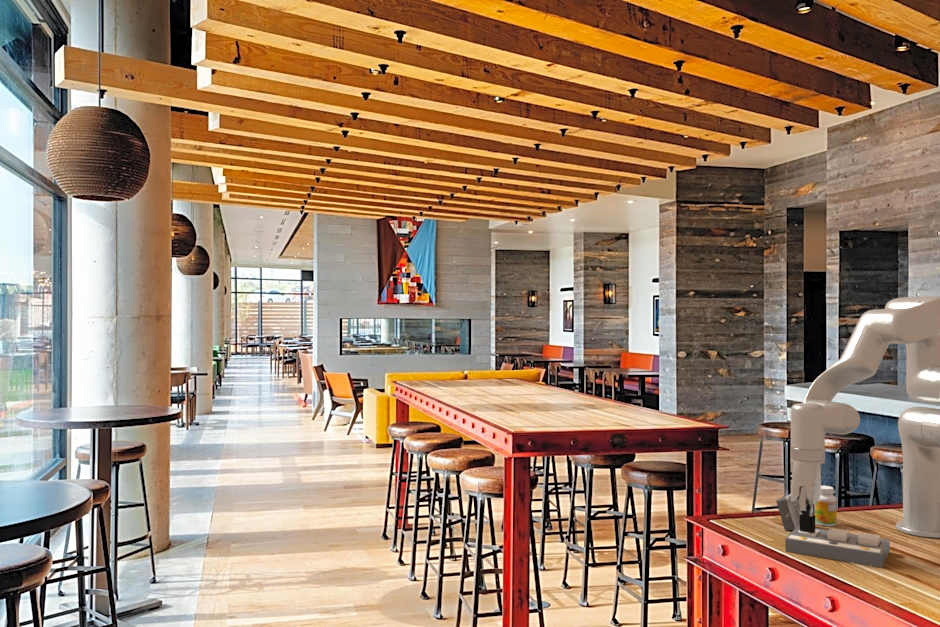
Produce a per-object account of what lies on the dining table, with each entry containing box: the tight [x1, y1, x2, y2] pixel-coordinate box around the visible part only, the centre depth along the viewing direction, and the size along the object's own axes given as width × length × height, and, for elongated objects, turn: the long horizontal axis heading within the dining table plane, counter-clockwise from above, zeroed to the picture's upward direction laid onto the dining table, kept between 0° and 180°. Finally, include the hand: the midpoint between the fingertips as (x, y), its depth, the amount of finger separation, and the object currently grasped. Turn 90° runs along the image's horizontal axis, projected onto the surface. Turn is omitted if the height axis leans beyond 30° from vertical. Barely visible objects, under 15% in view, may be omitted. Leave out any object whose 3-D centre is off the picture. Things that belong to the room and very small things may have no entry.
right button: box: [858, 532, 881, 547], centre depth 173 cm, size 4×4×2 cm
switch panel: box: [784, 526, 891, 568], centre depth 176 cm, size 13×20×3 cm, turn 54°
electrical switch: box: [775, 493, 800, 531], centre depth 196 cm, size 9×5×9 cm, turn 141°
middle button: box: [827, 527, 850, 542], centre depth 177 cm, size 4×4×2 cm
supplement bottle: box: [815, 485, 838, 527], centre depth 199 cm, size 5×5×10 cm
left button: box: [798, 530, 819, 537], centre depth 181 cm, size 4×4×2 cm
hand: (807, 531), depth 181 cm, fingers closed
